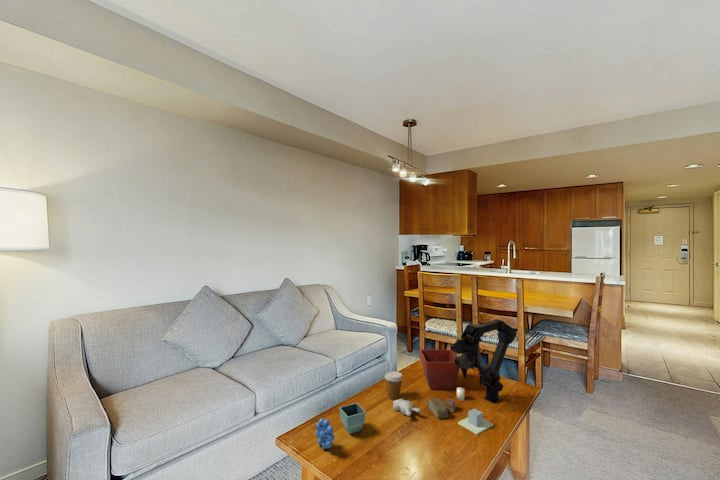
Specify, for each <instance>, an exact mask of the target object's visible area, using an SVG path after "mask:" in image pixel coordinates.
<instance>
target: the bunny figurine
mask: <svg viewBox="0 0 720 480" xmlns="http://www.w3.org/2000/svg"><path fill="white" fill-rule="evenodd" d="M392 407H393V410H394V411H399V412H400V413H401V414H402V415H405V416H407V417H410V416H411V415H412V413H413V412H416V413H421V412H422V411H421V409H420V408H418V407H414V406H413V403H412V402H411V400H406V399H404V398H399V399H397V400H393V401H392Z"/></svg>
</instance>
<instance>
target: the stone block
mask: <svg viewBox="0 0 720 480" xmlns="http://www.w3.org/2000/svg"><path fill="white" fill-rule="evenodd" d="M427 408H428V409H429V410H430V412H431V413H432V414H433V416H434V417H435V418H436V419H439V420H441V419H448V417H449V411H448V409H447V407H446V406H445V403H443V402H442V400H441V399H440V398H439V397H436V398H435V397H433V398H428V399H427Z"/></svg>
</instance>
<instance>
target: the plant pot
mask: <svg viewBox="0 0 720 480" xmlns="http://www.w3.org/2000/svg"><path fill="white" fill-rule="evenodd" d="M456 357H458V356H457V355H456V353H455V351H454V350H452V349H420V358H421V363H422V369H423V373H424V377H425V380H426V382H427V385H428V387H429V389H430V390H446V391H447V390H448V391H449V390H454V389H455V388H454V387H455V385H456V383H457V380H458V377H459V373H460V370H461V368H460V367H459V366H458V365H457V364H456V363H455V362H454V359H455V358H456Z"/></svg>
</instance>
